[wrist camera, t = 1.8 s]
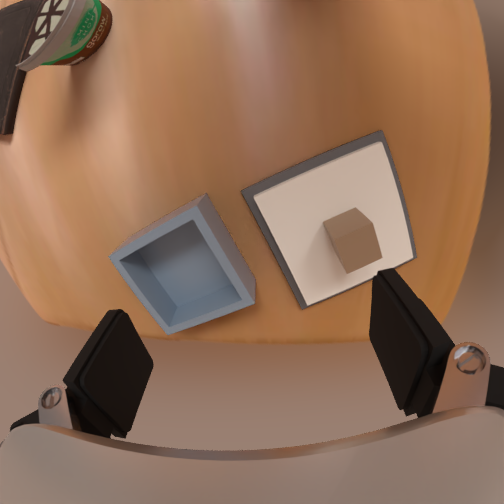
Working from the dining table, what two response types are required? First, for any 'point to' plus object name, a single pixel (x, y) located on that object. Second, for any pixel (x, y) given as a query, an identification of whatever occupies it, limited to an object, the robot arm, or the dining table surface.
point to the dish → (186, 267)
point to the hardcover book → (14, 56)
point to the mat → (307, 166)
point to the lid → (338, 222)
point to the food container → (66, 32)
